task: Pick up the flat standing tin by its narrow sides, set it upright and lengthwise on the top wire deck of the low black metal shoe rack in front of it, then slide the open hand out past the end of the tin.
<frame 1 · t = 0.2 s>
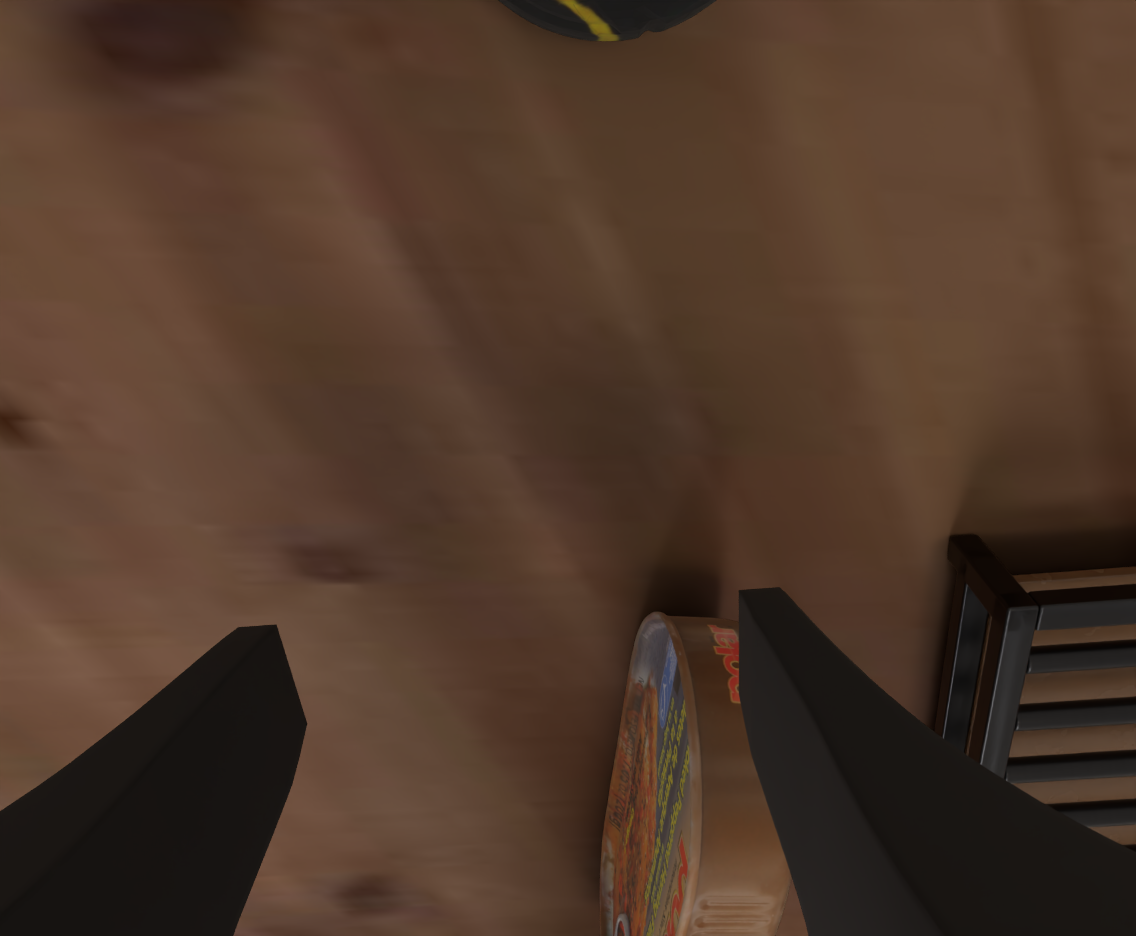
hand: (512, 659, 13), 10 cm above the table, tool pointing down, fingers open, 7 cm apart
tin: (662, 743, 27), on the table
rack: (1075, 732, 27), on the table
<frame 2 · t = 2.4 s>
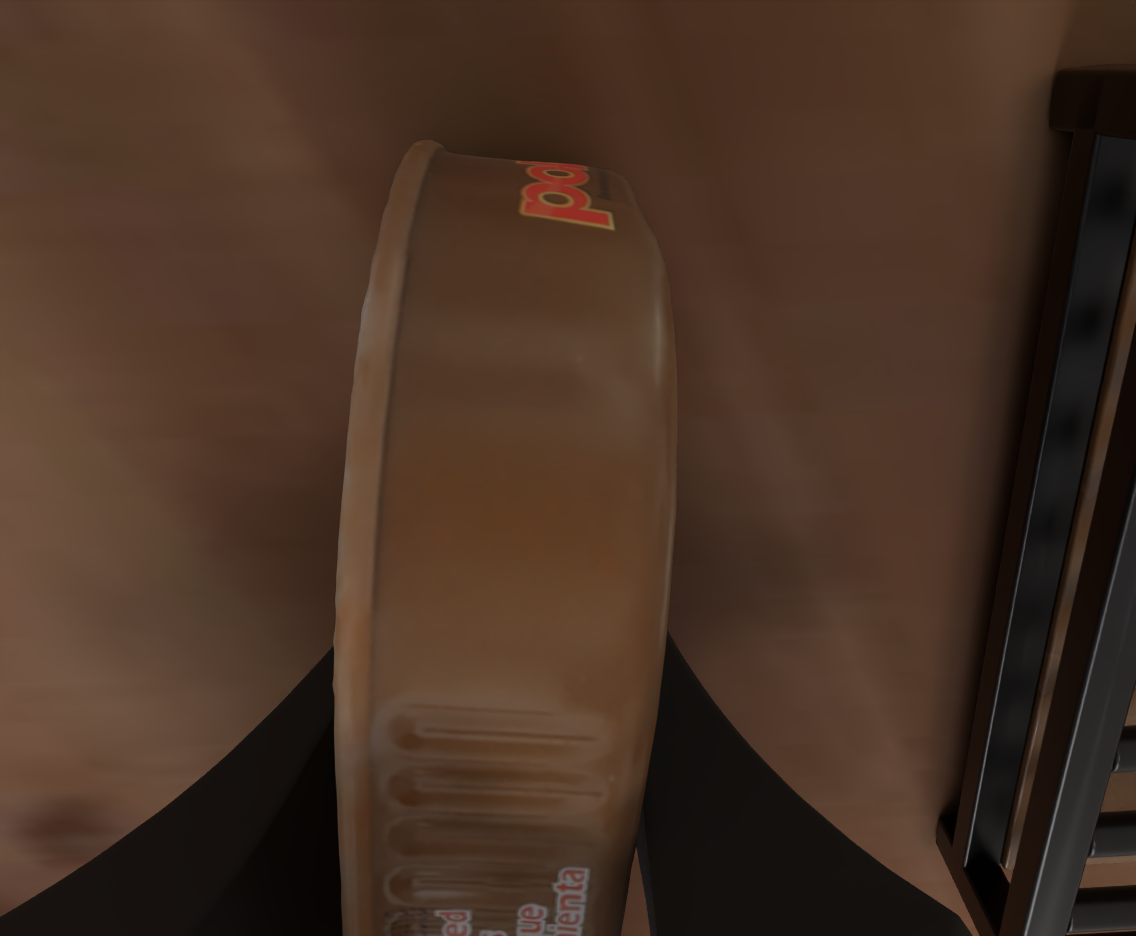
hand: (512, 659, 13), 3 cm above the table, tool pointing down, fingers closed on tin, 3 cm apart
tin: (524, 553, 15), on the table, touching gripper
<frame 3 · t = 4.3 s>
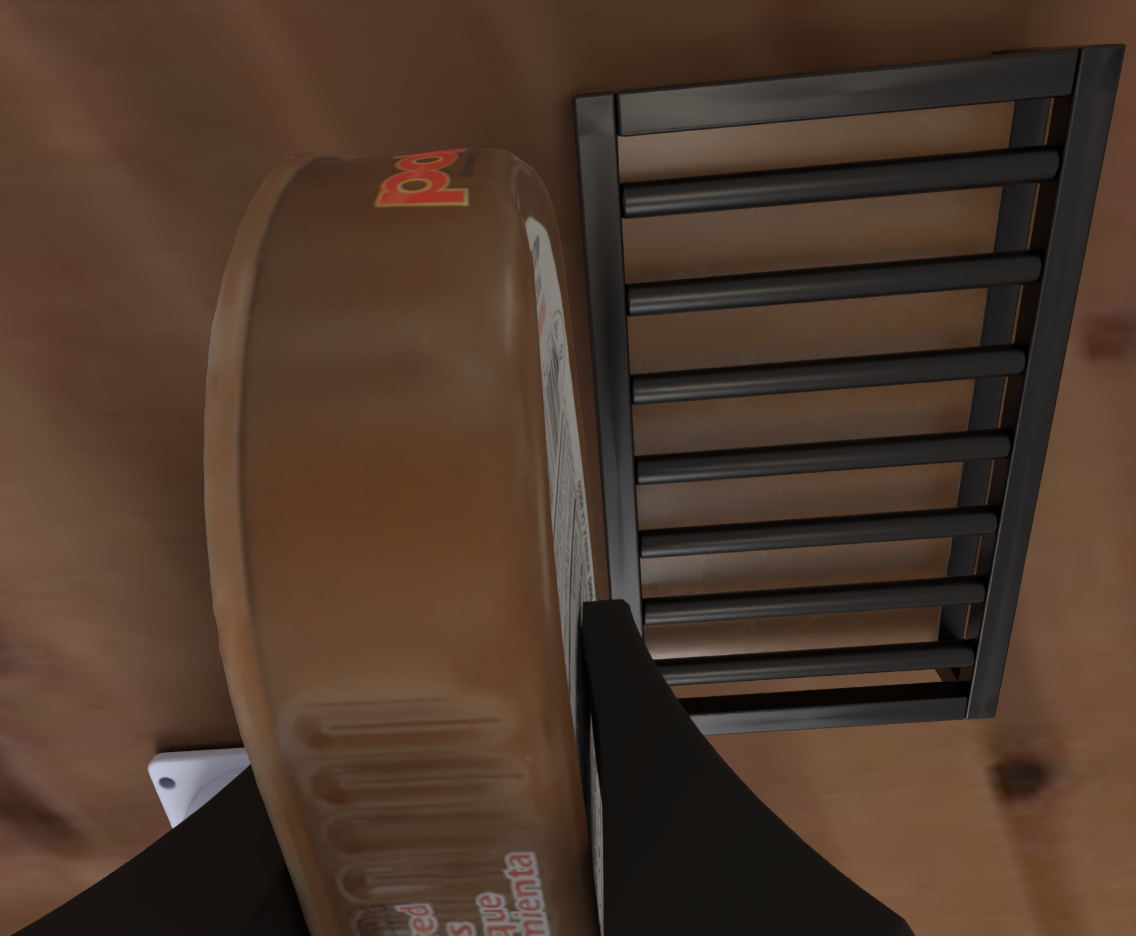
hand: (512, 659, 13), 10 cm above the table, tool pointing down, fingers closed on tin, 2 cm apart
tin: (542, 546, 15), point 7 cm above the table, touching gripper
rack: (785, 405, 21), on the table
when the fingers open (6 cm above the table, at t = 6.2 s): tin stays where it is, resting on rack.
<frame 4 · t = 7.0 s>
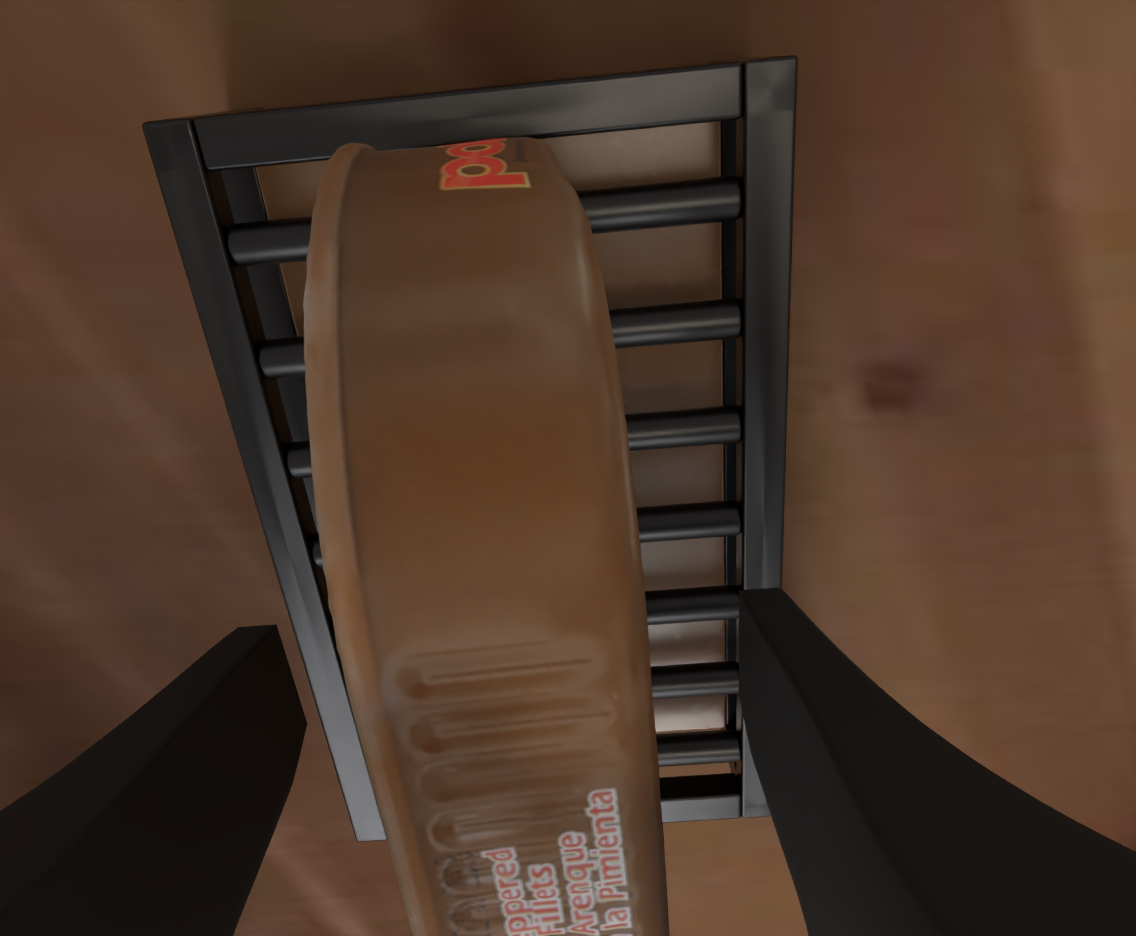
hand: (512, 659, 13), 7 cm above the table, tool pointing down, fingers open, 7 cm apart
tin: (543, 531, 16), point 3 cm above the table, touching rack
rack: (532, 463, 19), on the table
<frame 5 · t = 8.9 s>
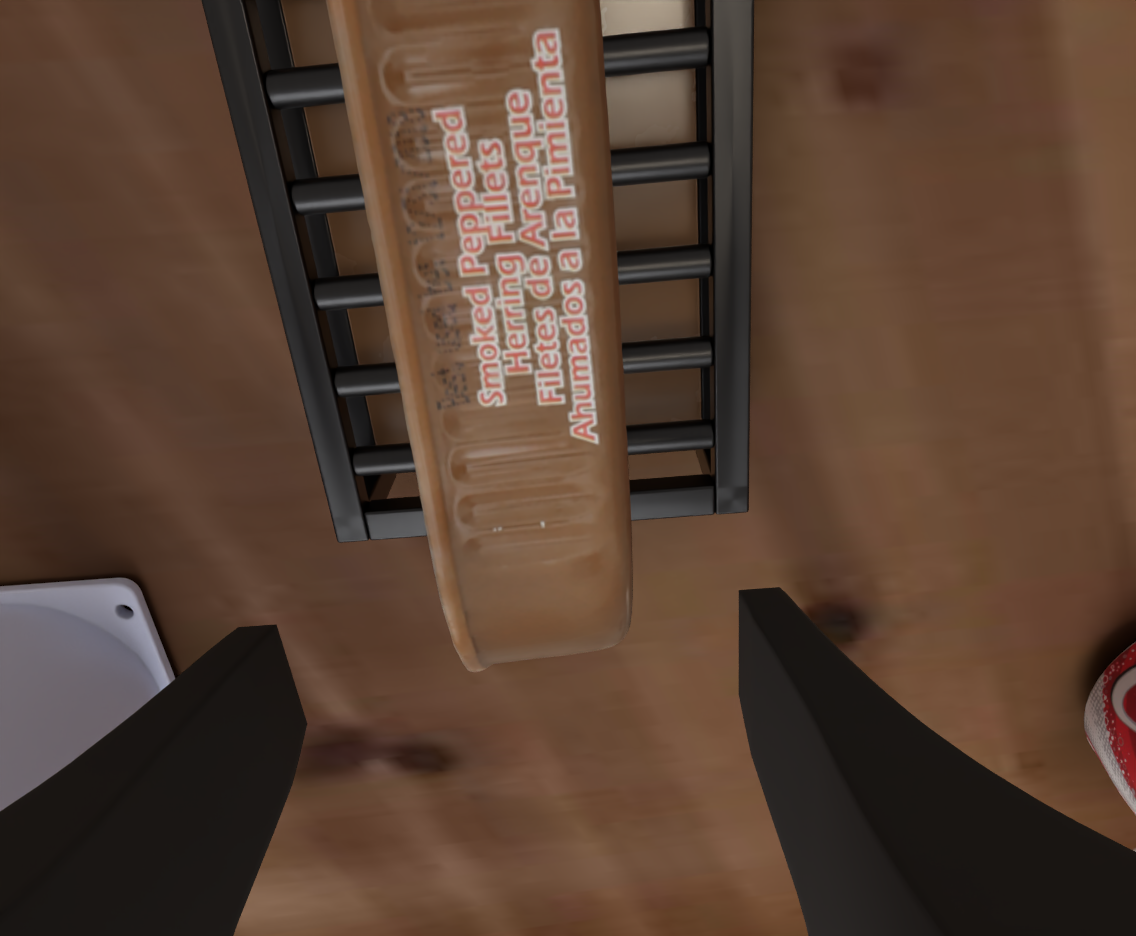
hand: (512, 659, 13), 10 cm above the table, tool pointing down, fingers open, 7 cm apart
tin: (517, 172, 16), point 3 cm above the table, touching rack
rack: (510, 162, 19), on the table
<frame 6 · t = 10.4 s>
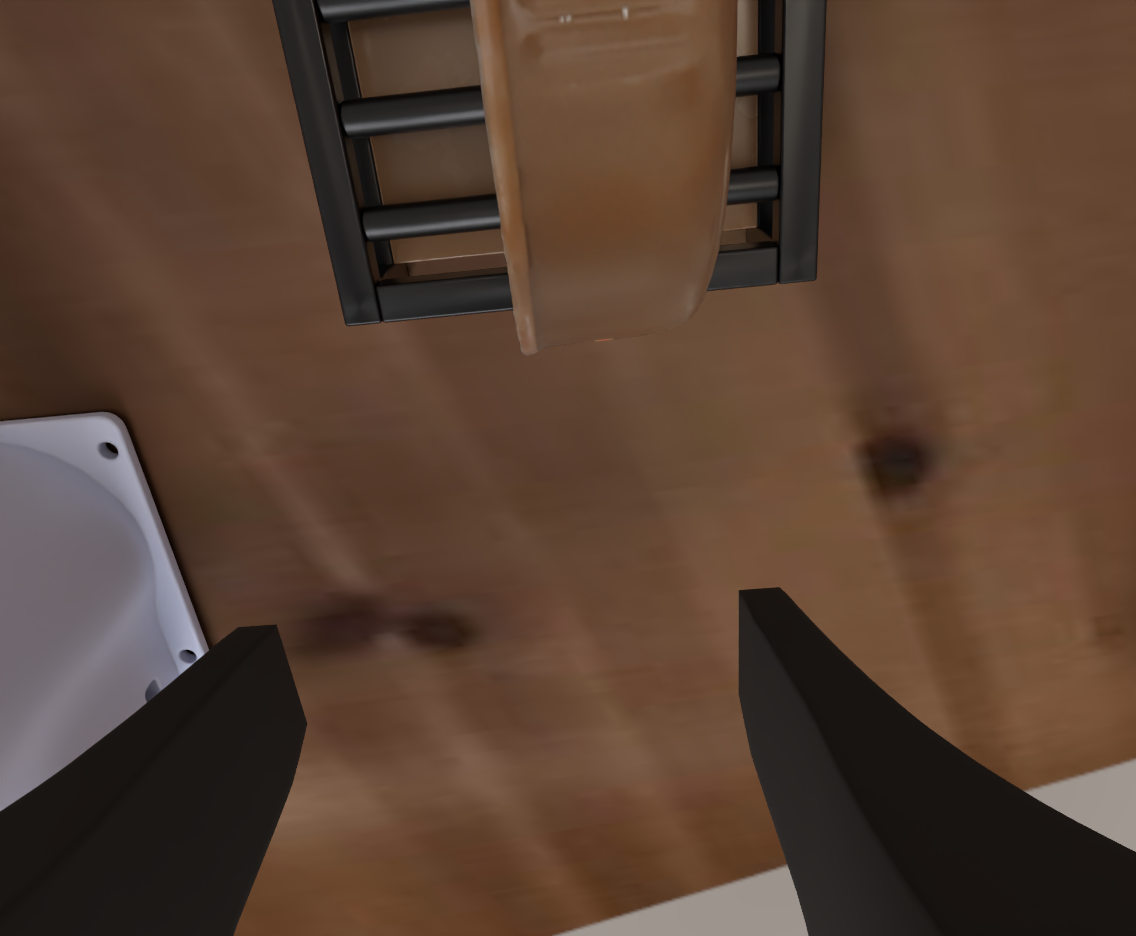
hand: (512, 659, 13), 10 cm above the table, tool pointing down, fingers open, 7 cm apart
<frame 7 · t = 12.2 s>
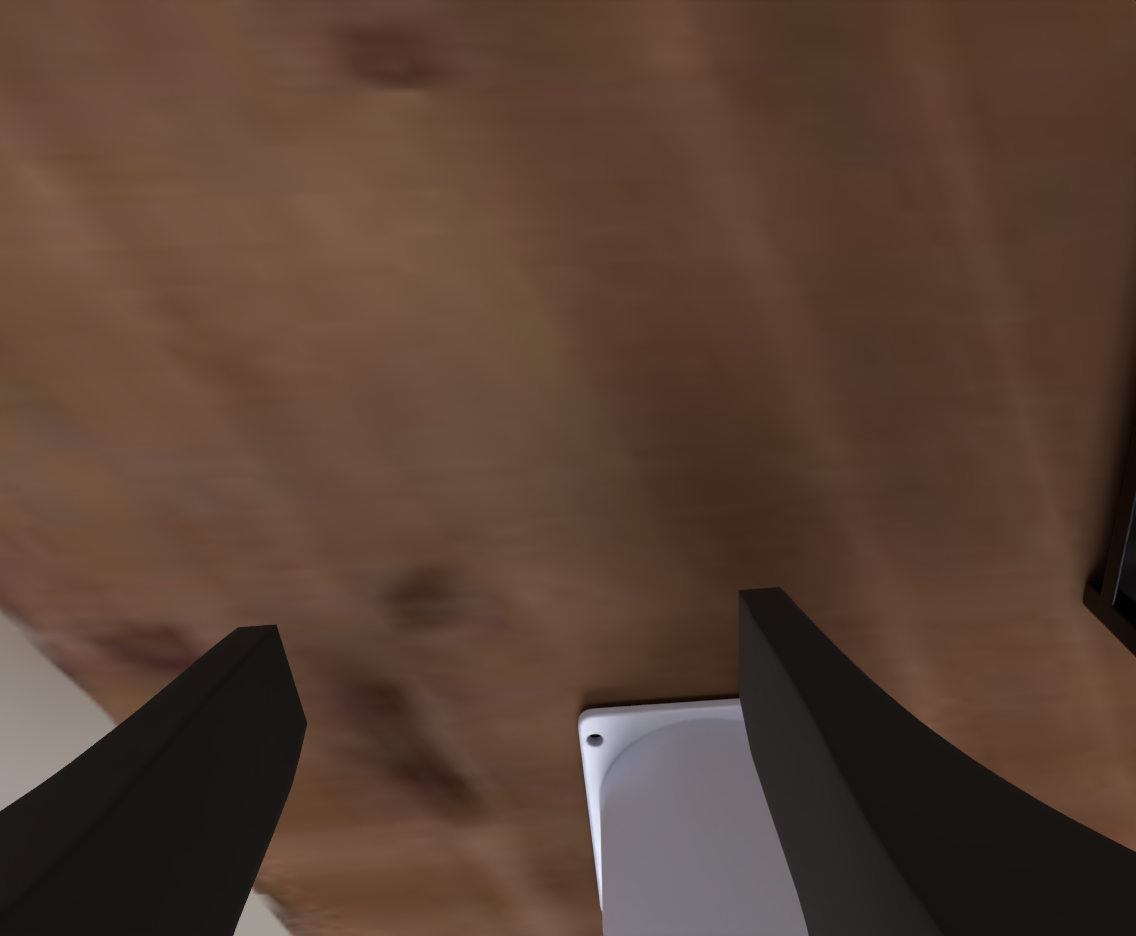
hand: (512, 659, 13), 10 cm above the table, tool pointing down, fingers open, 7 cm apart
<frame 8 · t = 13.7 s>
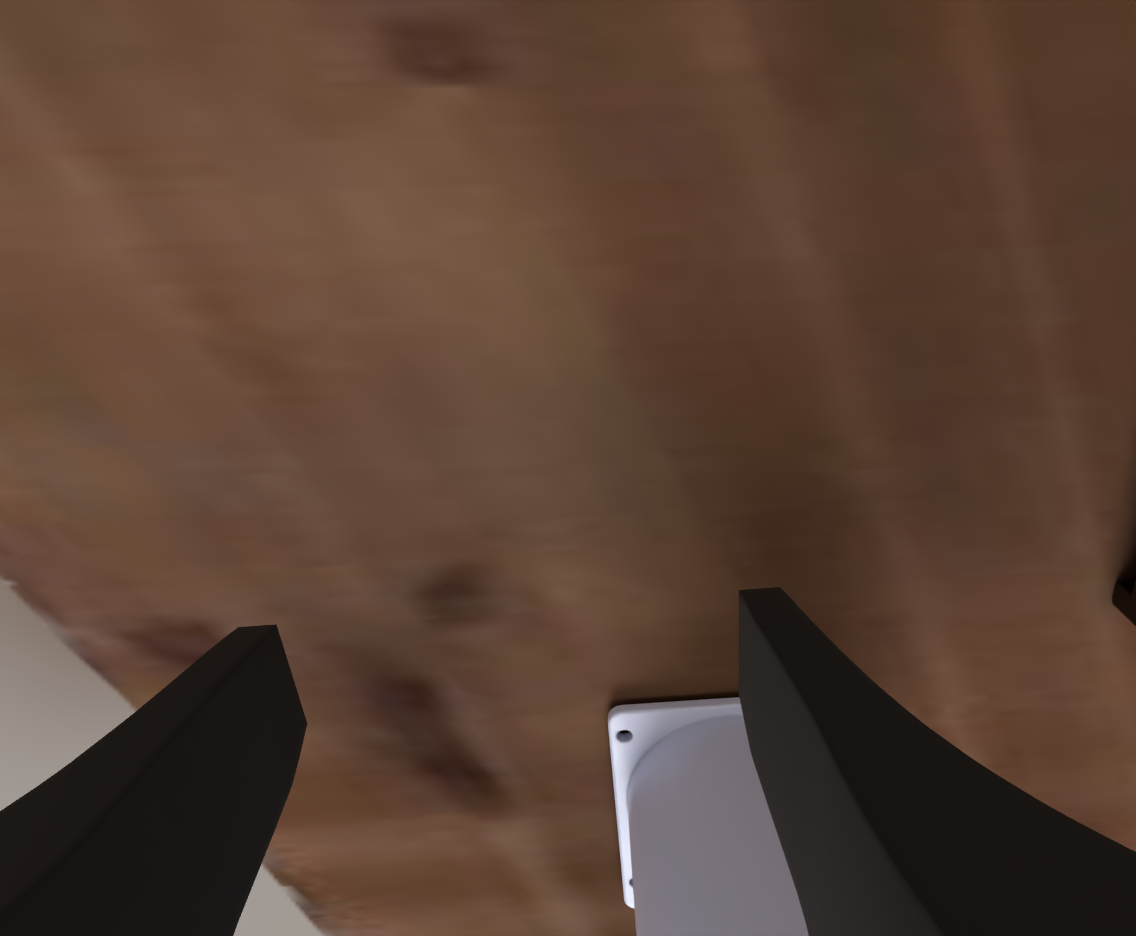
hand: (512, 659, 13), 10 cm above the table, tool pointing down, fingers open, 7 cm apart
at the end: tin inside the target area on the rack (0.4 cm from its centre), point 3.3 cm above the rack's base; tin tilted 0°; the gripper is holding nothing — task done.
